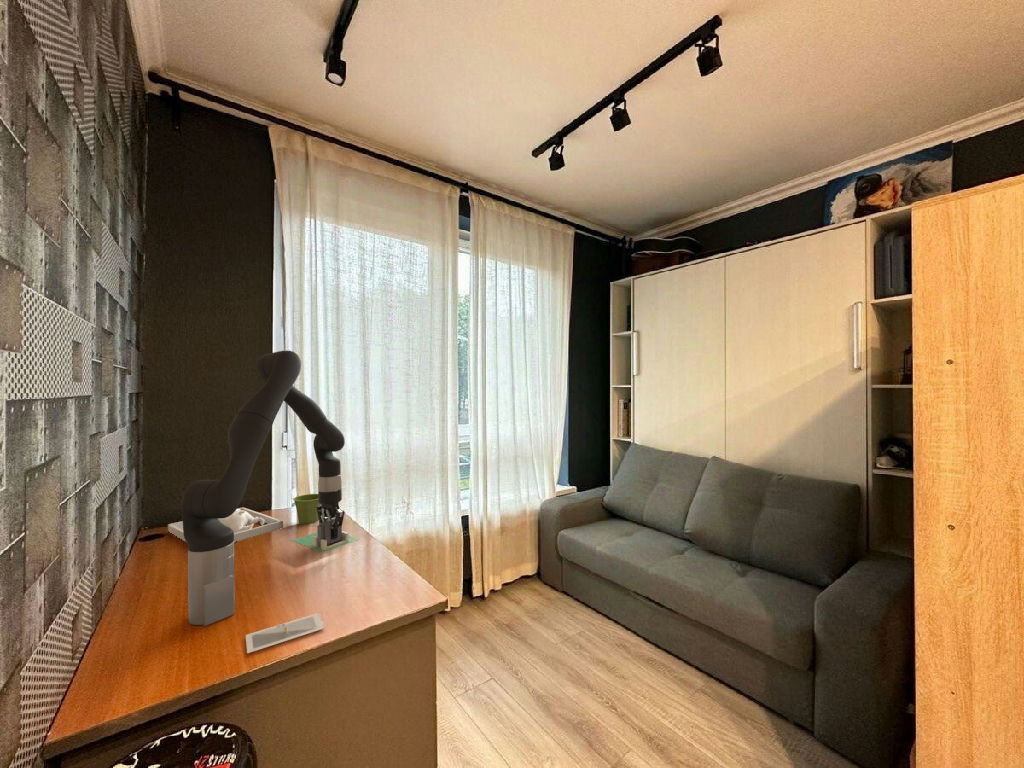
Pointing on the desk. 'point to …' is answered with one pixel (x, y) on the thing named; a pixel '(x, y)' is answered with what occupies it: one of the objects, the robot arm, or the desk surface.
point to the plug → (327, 532)
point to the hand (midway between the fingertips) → (330, 537)
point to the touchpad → (283, 632)
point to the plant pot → (307, 508)
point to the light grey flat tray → (271, 526)
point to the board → (324, 542)
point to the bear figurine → (240, 521)
